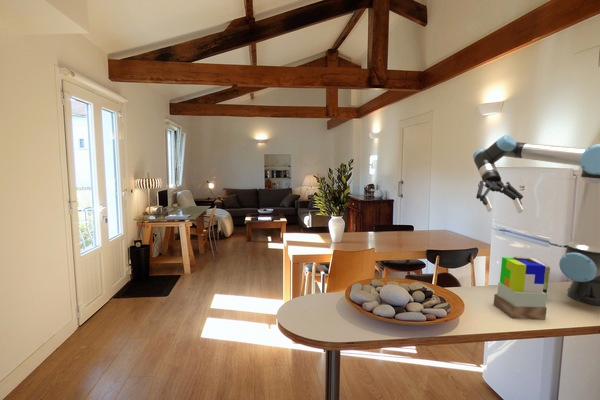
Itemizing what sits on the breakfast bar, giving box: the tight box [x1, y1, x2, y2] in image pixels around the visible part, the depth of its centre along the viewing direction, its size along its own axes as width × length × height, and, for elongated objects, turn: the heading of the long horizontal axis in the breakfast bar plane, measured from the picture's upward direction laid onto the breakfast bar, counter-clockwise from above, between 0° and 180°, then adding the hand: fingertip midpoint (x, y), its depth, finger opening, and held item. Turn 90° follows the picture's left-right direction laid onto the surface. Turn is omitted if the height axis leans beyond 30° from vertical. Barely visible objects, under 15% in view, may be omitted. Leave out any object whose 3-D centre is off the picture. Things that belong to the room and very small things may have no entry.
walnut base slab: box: [493, 293, 547, 321], centre depth 128 cm, size 12×12×5 cm
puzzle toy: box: [499, 256, 546, 293], centre depth 128 cm, size 10×10×10 cm
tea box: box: [513, 255, 551, 295], centre depth 149 cm, size 15×10×15 cm
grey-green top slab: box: [496, 281, 548, 308], centre depth 128 cm, size 11×11×5 cm
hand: (505, 210), depth 149 cm, fingers open, 13 cm apart
